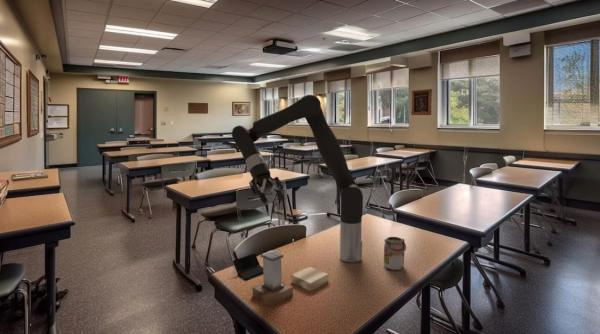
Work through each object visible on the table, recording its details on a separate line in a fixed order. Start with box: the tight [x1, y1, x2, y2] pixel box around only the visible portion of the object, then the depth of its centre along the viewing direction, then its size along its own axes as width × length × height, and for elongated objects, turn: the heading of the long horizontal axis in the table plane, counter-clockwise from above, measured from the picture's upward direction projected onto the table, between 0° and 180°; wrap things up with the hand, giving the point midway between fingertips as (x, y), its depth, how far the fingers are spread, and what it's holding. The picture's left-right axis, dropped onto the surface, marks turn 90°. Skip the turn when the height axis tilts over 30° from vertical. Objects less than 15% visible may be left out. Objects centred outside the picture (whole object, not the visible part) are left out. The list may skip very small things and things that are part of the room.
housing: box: [260, 249, 284, 293], centre depth 116 cm, size 6×5×12 cm
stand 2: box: [290, 266, 330, 292], centre depth 127 cm, size 10×10×3 cm
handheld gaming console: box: [232, 253, 263, 281], centre depth 135 cm, size 12×7×10 cm
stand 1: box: [252, 281, 294, 307], centre depth 117 cm, size 10×10×3 cm
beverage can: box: [383, 236, 407, 271], centre depth 138 cm, size 9×8×12 cm
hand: (274, 201), depth 131 cm, fingers open, 8 cm apart
